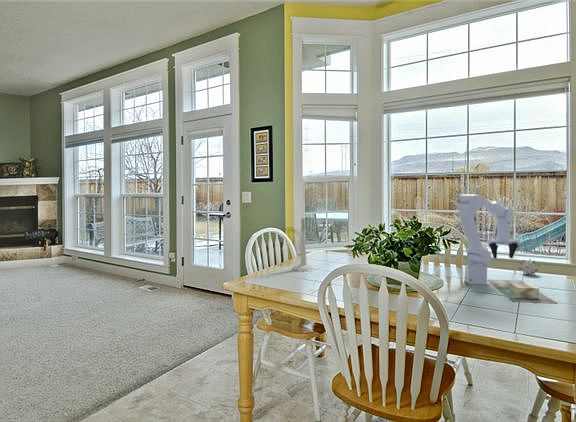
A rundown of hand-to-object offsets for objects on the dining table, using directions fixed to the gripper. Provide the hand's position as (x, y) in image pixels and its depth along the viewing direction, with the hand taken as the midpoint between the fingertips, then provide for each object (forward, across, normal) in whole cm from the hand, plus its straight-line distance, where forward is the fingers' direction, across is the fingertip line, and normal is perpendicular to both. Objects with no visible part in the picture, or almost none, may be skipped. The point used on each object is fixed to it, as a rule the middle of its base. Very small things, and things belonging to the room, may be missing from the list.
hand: (502, 258), depth 182 cm
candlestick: (+11, -102, +17) cm, 104 cm away
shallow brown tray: (+10, -3, -21) cm, 23 cm away
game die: (+11, +17, +8) cm, 22 cm away
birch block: (+10, -4, -28) cm, 30 cm away
